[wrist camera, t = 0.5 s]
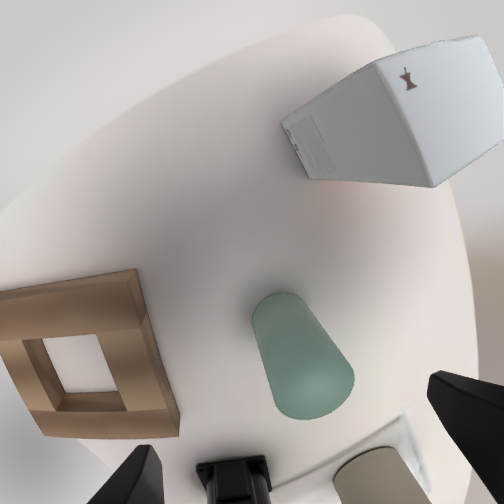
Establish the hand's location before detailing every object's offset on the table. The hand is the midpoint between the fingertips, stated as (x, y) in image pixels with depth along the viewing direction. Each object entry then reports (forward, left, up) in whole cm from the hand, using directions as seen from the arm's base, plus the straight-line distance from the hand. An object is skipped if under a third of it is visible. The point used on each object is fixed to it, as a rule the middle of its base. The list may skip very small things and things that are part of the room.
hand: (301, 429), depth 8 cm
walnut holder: (-4, +13, -13) cm, 19 cm away
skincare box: (+9, -7, -13) cm, 17 cm away
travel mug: (-25, -10, -13) cm, 30 cm away
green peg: (-3, -2, -13) cm, 13 cm away
